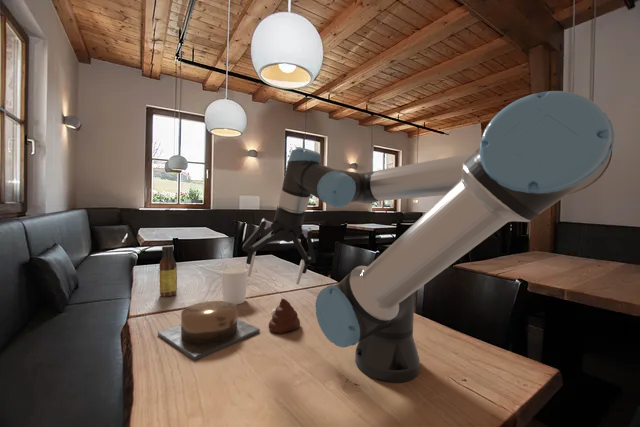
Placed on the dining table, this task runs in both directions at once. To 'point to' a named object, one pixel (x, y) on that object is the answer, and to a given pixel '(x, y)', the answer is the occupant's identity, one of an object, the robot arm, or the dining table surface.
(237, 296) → the candle holder
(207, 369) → the dining table surface
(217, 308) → the post stand
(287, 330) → the poop emoji
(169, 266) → the sauce bottle
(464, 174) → the robot arm
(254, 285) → the dining table surface
